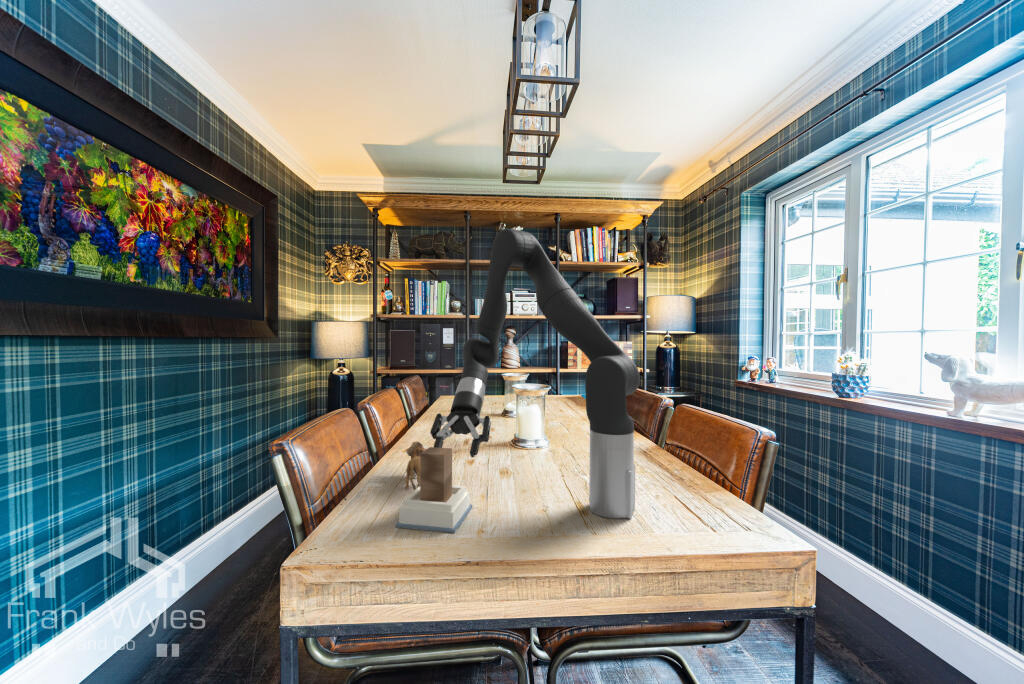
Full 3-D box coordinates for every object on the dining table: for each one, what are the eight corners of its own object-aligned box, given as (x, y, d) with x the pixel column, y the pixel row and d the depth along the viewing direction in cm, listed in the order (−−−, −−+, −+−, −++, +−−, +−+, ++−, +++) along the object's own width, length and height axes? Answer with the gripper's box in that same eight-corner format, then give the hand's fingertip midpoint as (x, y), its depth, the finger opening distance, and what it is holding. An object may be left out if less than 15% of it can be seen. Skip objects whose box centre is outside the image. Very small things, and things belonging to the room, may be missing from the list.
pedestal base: (472, 507, 89) (472, 485, 89) (454, 532, 77) (454, 507, 77) (420, 502, 91) (420, 481, 91) (395, 527, 80) (395, 502, 80)
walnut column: (451, 495, 86) (452, 448, 86) (443, 504, 82) (444, 454, 81) (429, 493, 87) (429, 447, 87) (420, 502, 82) (420, 453, 82)
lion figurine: (406, 473, 112) (406, 440, 112) (425, 471, 113) (426, 439, 113) (404, 493, 97) (404, 455, 97) (427, 491, 99) (427, 454, 99)
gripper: (439, 388, 105) (421, 444, 94) (493, 390, 103) (481, 448, 92) (446, 406, 111) (429, 460, 99) (497, 408, 108) (486, 464, 97)
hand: (454, 454), depth 95 cm, fingers open, 8 cm apart
